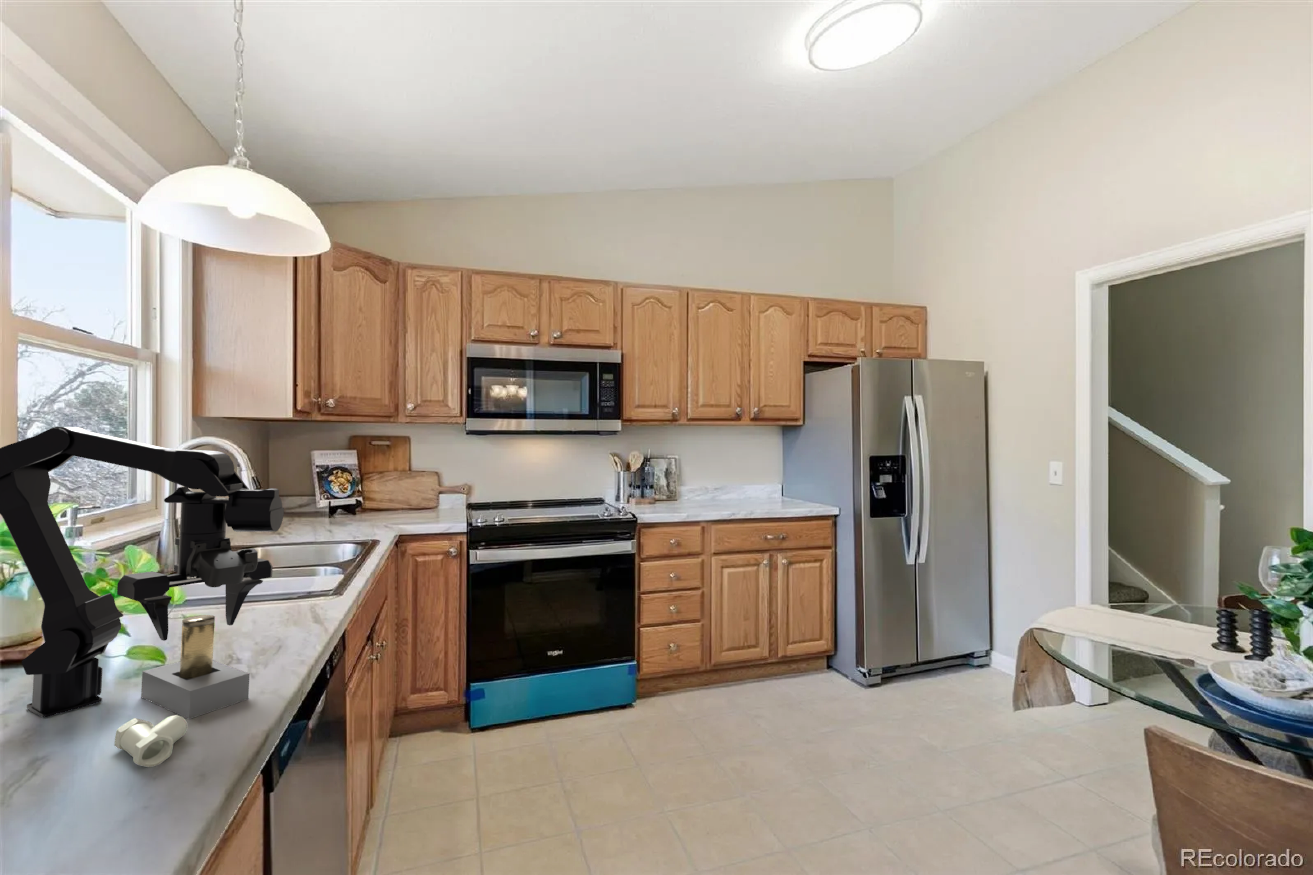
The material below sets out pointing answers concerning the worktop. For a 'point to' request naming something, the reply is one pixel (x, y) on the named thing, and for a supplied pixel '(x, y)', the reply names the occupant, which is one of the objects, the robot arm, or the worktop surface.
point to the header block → (195, 689)
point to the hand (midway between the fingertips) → (198, 632)
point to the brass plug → (197, 646)
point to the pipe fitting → (150, 739)
